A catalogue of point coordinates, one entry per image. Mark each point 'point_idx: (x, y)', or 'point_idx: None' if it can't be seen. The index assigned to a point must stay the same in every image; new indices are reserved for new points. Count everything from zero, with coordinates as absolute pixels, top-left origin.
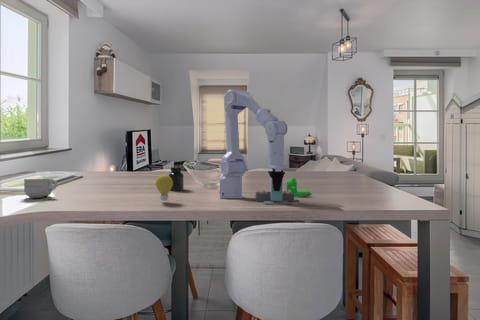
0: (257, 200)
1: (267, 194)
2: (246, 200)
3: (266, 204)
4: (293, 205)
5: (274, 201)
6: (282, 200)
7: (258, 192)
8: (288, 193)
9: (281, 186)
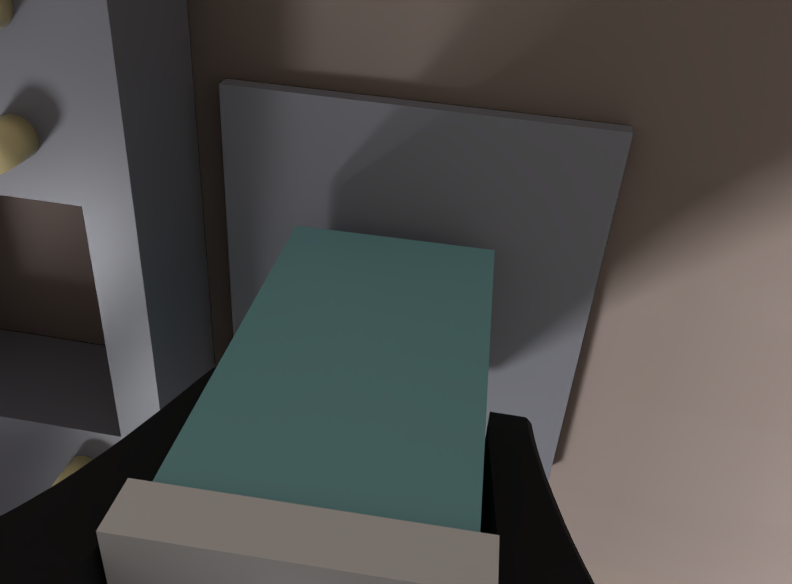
0: None
1: None
2: None
3: (551, 451)
4: (780, 91)
5: None
6: (191, 160)
7: None
8: (81, 78)
9: (481, 443)
